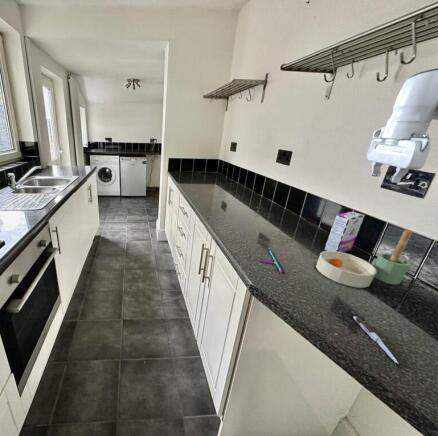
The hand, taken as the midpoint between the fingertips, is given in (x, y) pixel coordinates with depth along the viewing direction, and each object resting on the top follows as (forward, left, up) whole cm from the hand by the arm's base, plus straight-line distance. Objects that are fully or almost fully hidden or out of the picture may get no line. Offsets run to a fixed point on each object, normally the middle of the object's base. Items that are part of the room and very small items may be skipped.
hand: (383, 179), depth 74 cm
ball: (+2, +5, -31) cm, 31 cm away
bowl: (-1, +8, -33) cm, 34 cm away
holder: (-10, -3, -33) cm, 35 cm away
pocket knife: (-16, +34, -34) cm, 50 cm away
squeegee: (+18, +22, -33) cm, 43 cm away
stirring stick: (-10, -3, -33) cm, 34 cm away
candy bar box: (+7, -12, -34) cm, 36 cm away
